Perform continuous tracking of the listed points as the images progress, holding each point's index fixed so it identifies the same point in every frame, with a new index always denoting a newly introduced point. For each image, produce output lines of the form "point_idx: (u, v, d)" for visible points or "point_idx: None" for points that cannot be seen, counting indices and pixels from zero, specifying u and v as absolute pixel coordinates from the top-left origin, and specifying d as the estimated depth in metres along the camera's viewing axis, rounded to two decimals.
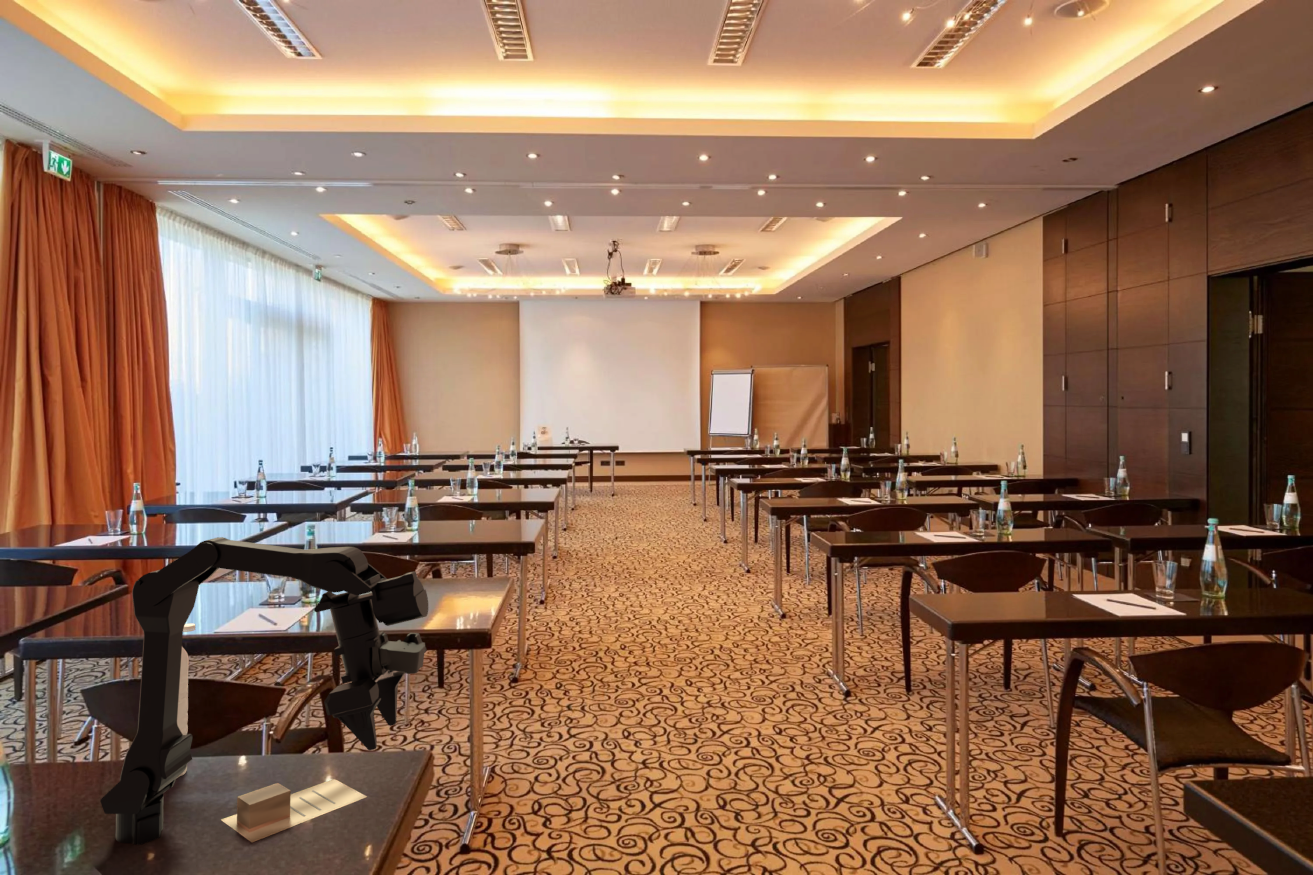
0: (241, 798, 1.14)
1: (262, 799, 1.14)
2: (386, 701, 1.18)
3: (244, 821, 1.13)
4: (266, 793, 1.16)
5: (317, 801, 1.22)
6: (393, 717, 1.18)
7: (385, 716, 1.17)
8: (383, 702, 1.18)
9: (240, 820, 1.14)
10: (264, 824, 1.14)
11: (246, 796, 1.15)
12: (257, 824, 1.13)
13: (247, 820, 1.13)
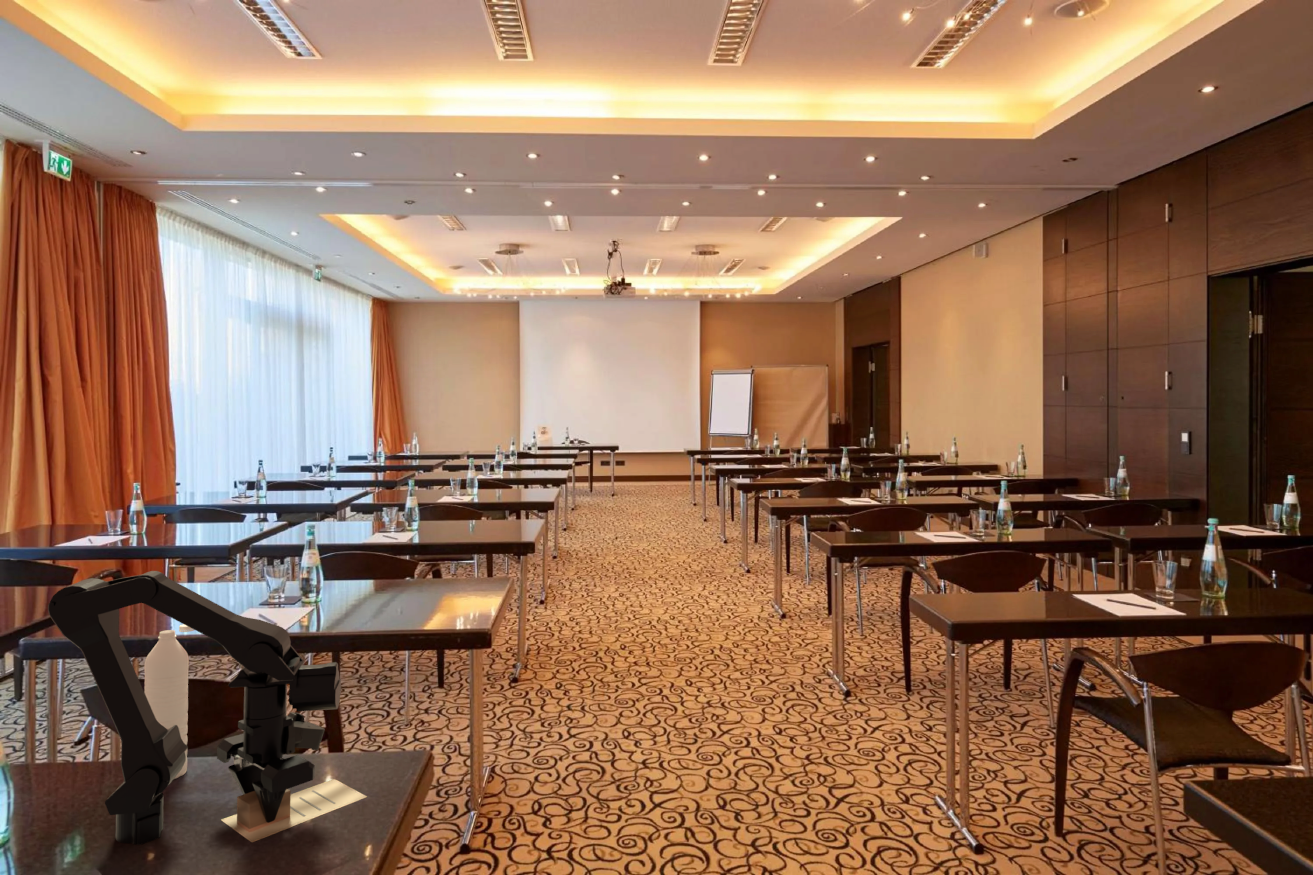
0: (241, 798, 1.14)
1: None
2: None
3: (244, 821, 1.13)
4: None
5: (317, 801, 1.22)
6: None
7: None
8: (252, 789, 1.17)
9: (240, 820, 1.14)
10: (264, 824, 1.14)
11: (246, 796, 1.15)
12: (257, 824, 1.13)
13: (247, 820, 1.13)
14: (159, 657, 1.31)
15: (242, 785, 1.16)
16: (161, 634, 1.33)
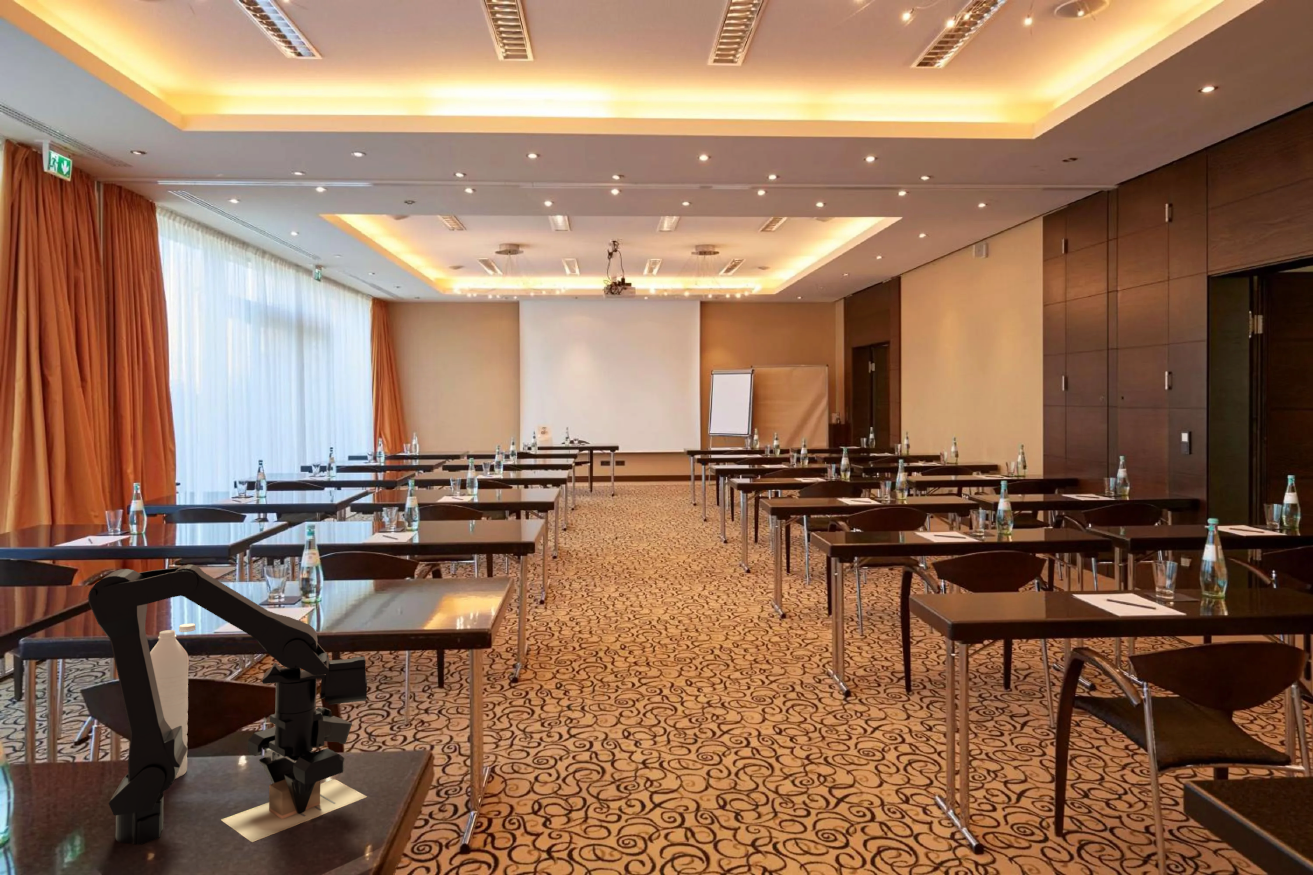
0: (273, 786, 1.18)
1: None
2: None
3: (276, 808, 1.17)
4: None
5: None
6: None
7: None
8: None
9: (272, 807, 1.18)
10: None
11: (278, 784, 1.19)
12: (289, 811, 1.17)
13: (280, 807, 1.17)
14: (159, 657, 1.31)
15: (273, 777, 1.19)
16: (161, 634, 1.33)
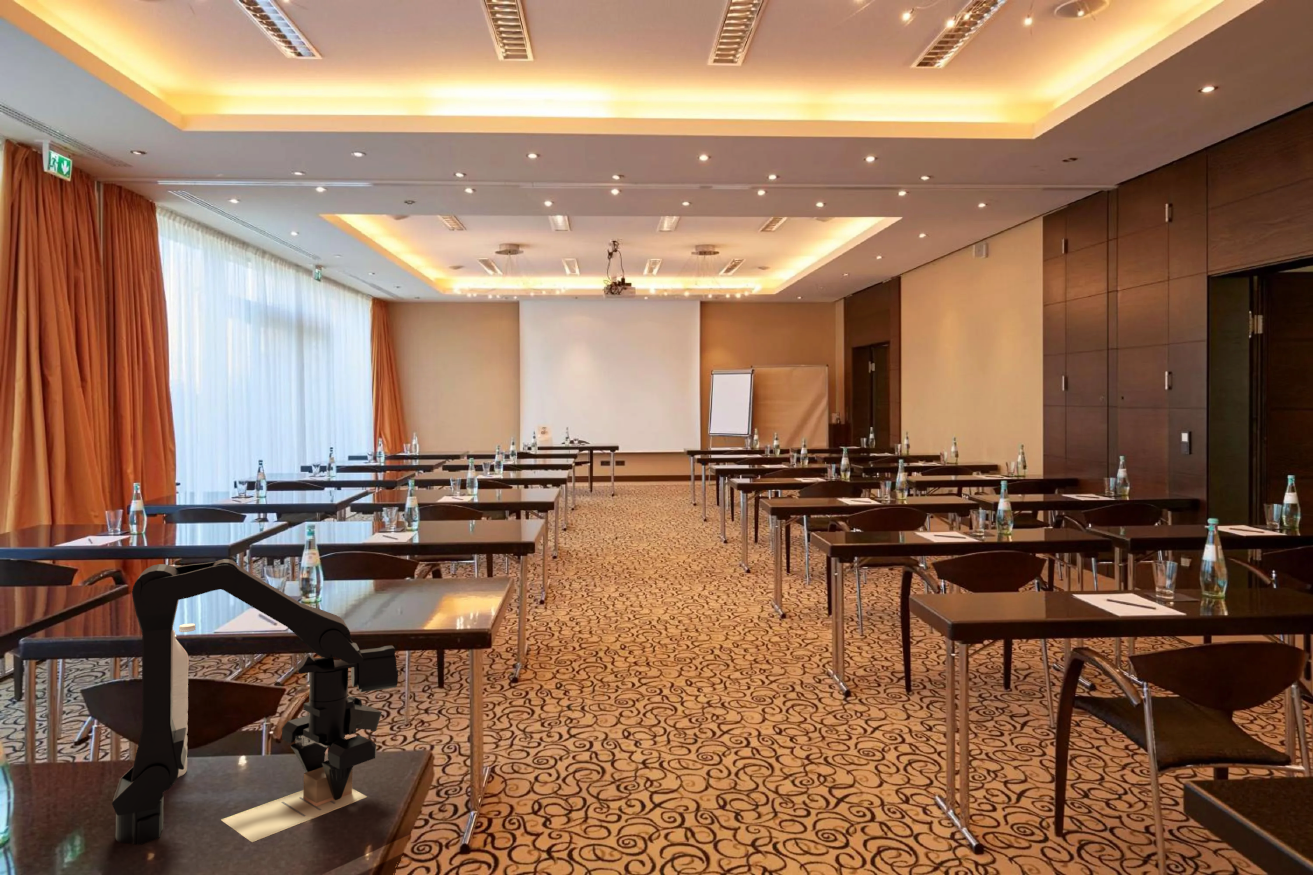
0: (308, 774, 1.22)
1: None
2: (316, 765, 1.26)
3: (311, 796, 1.21)
4: None
5: None
6: None
7: None
8: (313, 766, 1.25)
9: (306, 795, 1.22)
10: (329, 799, 1.22)
11: (312, 773, 1.23)
12: (323, 799, 1.21)
13: (314, 795, 1.21)
14: None
15: (304, 762, 1.24)
16: None
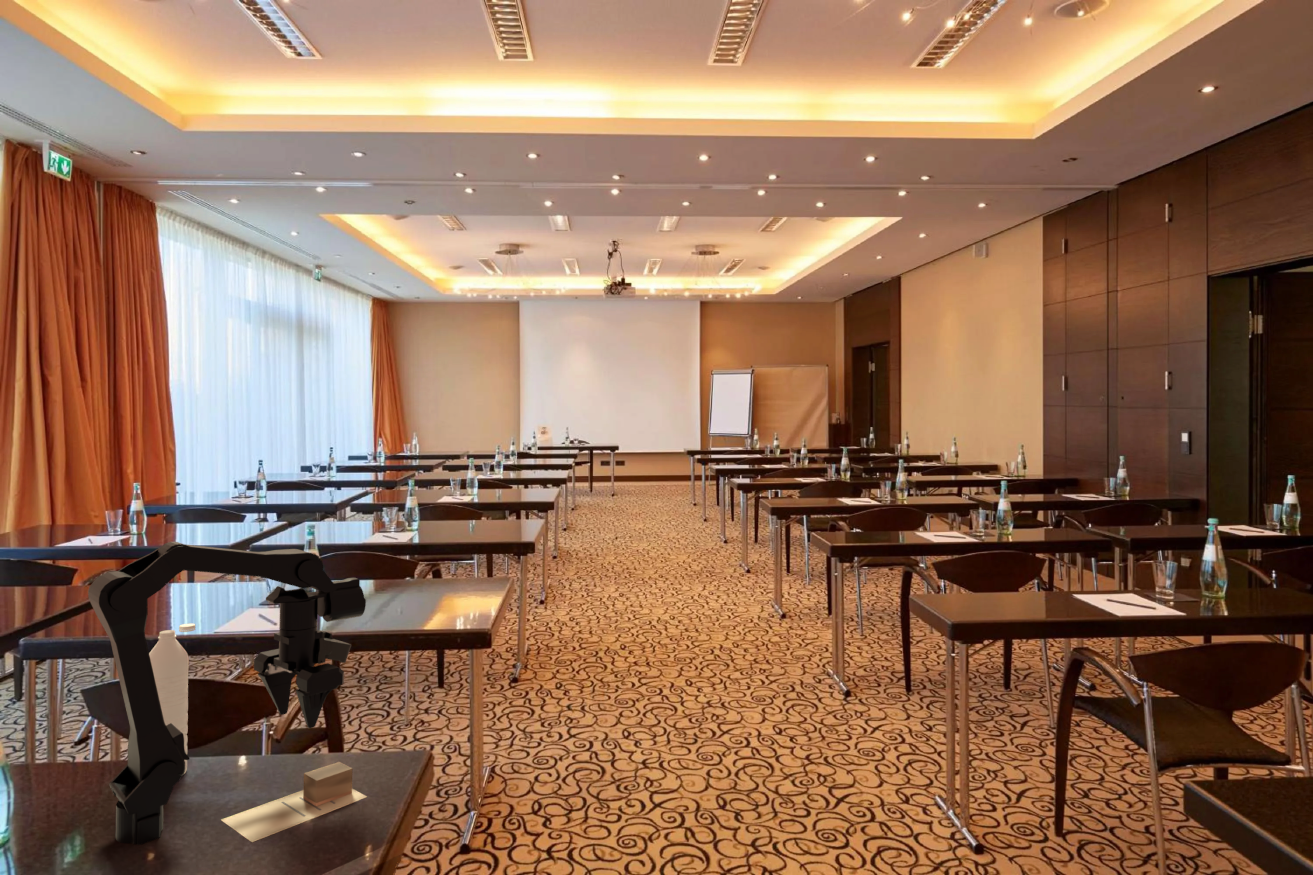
0: (308, 774, 1.22)
1: (327, 775, 1.22)
2: (282, 692, 1.31)
3: (311, 796, 1.21)
4: (330, 771, 1.24)
5: None
6: (286, 707, 1.31)
7: (280, 706, 1.30)
8: (280, 693, 1.30)
9: (306, 795, 1.22)
10: (329, 799, 1.22)
11: (312, 773, 1.23)
12: (323, 799, 1.21)
13: (314, 795, 1.21)
14: (159, 657, 1.31)
15: (270, 689, 1.29)
16: (161, 634, 1.33)
